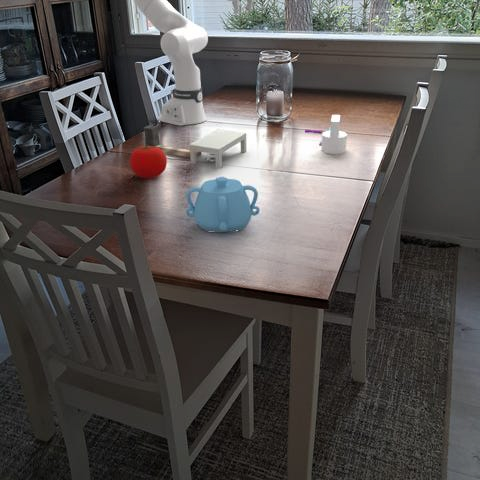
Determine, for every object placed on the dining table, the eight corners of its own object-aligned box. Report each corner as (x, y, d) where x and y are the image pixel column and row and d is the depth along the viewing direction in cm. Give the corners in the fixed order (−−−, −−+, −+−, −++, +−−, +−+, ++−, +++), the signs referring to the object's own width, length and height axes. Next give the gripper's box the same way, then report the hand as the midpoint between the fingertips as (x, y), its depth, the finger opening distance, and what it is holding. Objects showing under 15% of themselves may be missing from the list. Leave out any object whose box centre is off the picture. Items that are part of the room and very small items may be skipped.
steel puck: (204, 162, 185) (204, 158, 184) (211, 158, 188) (211, 153, 188) (216, 164, 182) (216, 160, 182) (223, 160, 186) (223, 155, 185)
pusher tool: (144, 151, 195) (141, 128, 191) (153, 147, 200) (151, 124, 195) (193, 160, 186) (191, 136, 182) (201, 155, 190) (200, 131, 186)
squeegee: (312, 120, 223) (335, 122, 220) (311, 124, 224) (334, 125, 221) (296, 141, 200) (321, 144, 197) (296, 146, 201) (321, 148, 198)
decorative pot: (228, 206, 151) (226, 163, 145) (265, 225, 140) (265, 178, 134) (182, 223, 142) (178, 178, 136) (218, 244, 131) (215, 196, 125)
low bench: (190, 163, 183) (189, 144, 180) (219, 146, 198) (218, 128, 195) (219, 168, 178) (219, 149, 175) (246, 151, 193) (246, 132, 190)
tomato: (129, 173, 176) (125, 143, 171) (163, 167, 180) (161, 138, 175) (135, 184, 167) (131, 154, 162) (171, 179, 171) (168, 148, 166)
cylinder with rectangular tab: (345, 154, 188) (348, 122, 182) (320, 153, 190) (322, 121, 184) (345, 146, 196) (348, 115, 190) (322, 145, 197) (323, 114, 192)
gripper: (248, -30, 197) (248, 9, 204) (221, -28, 181) (222, 14, 188) (262, -30, 194) (262, 10, 201) (237, -28, 179) (238, 15, 185)
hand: (243, 12), depth 194 cm, fingers open, 8 cm apart
